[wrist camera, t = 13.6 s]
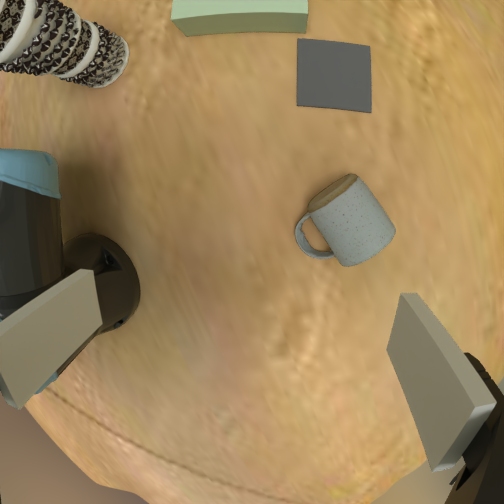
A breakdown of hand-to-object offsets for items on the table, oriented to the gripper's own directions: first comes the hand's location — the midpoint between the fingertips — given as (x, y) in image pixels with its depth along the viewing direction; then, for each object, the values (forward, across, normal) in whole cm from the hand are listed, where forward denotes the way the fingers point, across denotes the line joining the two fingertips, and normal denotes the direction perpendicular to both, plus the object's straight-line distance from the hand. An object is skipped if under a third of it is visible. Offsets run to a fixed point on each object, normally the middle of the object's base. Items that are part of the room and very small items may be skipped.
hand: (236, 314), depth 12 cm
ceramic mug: (+27, -8, +1) cm, 28 cm away
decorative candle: (+27, +24, -21) cm, 42 cm away
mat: (+27, -7, -17) cm, 32 cm away
